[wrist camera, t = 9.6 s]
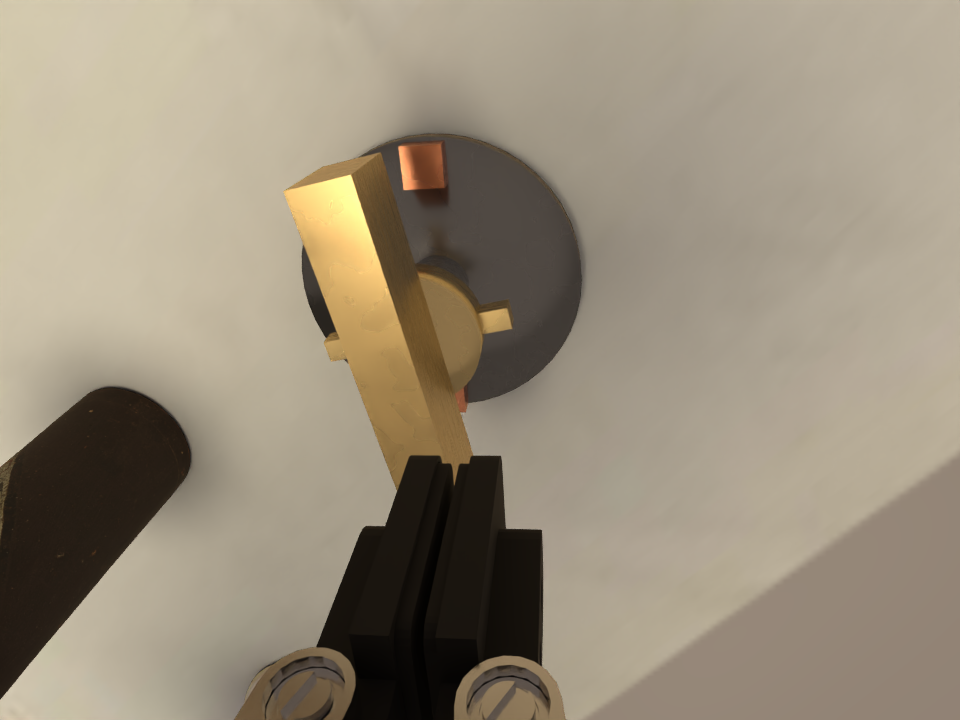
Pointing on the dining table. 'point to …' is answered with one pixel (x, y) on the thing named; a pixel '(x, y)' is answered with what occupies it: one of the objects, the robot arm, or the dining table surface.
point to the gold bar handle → (392, 312)
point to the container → (77, 511)
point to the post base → (484, 248)
